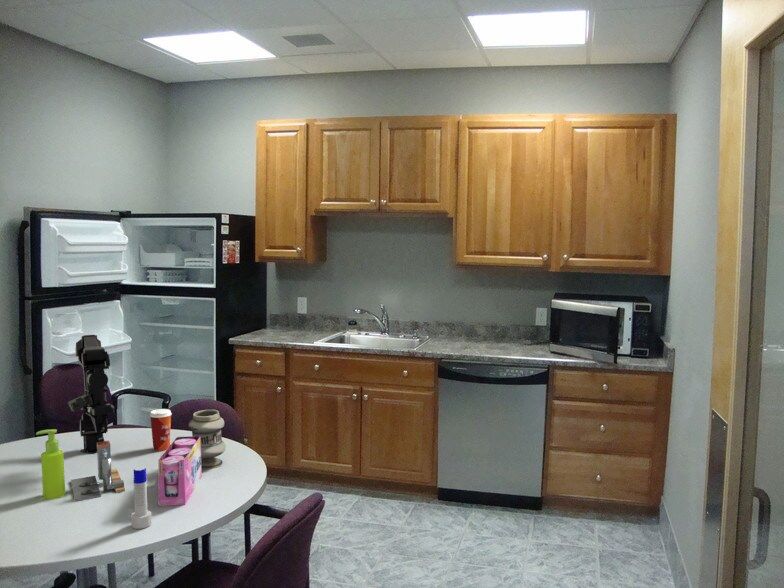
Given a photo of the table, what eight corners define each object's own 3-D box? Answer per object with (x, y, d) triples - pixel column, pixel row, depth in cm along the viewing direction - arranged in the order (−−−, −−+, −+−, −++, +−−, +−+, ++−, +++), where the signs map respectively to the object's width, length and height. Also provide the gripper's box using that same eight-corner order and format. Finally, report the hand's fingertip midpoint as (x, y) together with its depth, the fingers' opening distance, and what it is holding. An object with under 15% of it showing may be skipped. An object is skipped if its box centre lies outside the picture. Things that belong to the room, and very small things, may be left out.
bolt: (130, 523, 175) (150, 519, 178) (132, 530, 171) (152, 527, 173) (128, 467, 174) (148, 464, 176) (130, 473, 169) (151, 469, 172)
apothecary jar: (182, 468, 217) (180, 416, 215) (201, 457, 229) (199, 406, 227) (215, 471, 214) (213, 418, 213) (232, 459, 226) (231, 409, 224)
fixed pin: (102, 490, 198) (101, 458, 198) (123, 486, 201) (122, 455, 200) (103, 492, 196) (102, 460, 196) (124, 489, 199) (123, 457, 198)
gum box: (185, 507, 186) (183, 461, 185) (156, 508, 186) (155, 461, 184) (202, 476, 210) (201, 435, 209) (177, 477, 209) (176, 436, 208)
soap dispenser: (40, 493, 196) (37, 428, 194) (66, 490, 198) (63, 426, 197) (37, 501, 190) (34, 434, 189) (63, 497, 193) (61, 431, 191)
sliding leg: (98, 482, 204) (96, 442, 203) (110, 480, 206) (108, 440, 205) (99, 486, 201) (97, 445, 200) (111, 484, 203) (110, 443, 202)
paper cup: (168, 452, 234) (167, 414, 233) (147, 452, 234) (145, 413, 233) (175, 445, 242) (174, 408, 240) (155, 445, 242) (154, 408, 241)
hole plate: (71, 481, 206) (70, 479, 206) (97, 477, 209) (97, 475, 209) (75, 501, 190) (75, 499, 190) (103, 496, 194) (103, 494, 194)
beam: (108, 472, 214) (108, 469, 214) (116, 470, 215) (116, 468, 215) (116, 492, 196) (116, 490, 196) (125, 491, 198) (124, 488, 198)
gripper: (63, 387, 219) (65, 433, 219) (76, 391, 205) (79, 441, 205) (98, 383, 226) (100, 427, 226) (113, 387, 212) (116, 435, 212)
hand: (98, 432), depth 217 cm, fingers closed
